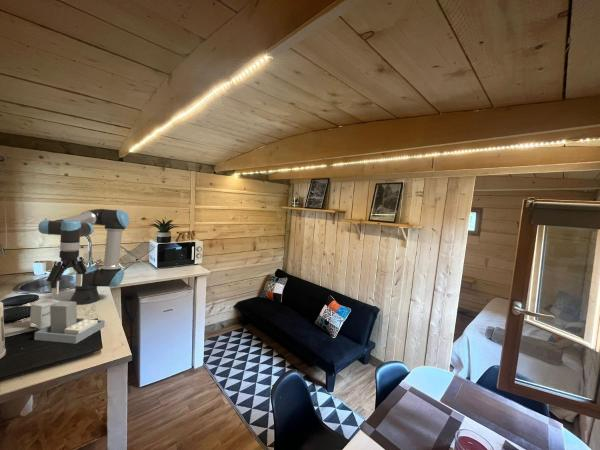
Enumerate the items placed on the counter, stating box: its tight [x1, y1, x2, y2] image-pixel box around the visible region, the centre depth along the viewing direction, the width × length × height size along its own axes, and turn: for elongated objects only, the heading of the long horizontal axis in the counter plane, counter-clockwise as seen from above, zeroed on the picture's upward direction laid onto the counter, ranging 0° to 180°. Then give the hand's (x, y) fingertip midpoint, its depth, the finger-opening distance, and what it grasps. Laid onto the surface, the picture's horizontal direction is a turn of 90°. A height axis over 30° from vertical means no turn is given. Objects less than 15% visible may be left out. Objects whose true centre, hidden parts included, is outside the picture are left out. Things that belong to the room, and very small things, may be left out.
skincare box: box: [50, 300, 78, 334], centre depth 130 cm, size 8×7×16 cm
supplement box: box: [29, 300, 58, 330], centre depth 136 cm, size 7×7×13 cm
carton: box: [64, 318, 99, 335], centre depth 130 cm, size 12×7×6 cm, turn 1°
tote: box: [33, 317, 105, 345], centre depth 130 cm, size 18×20×4 cm
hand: (67, 289), depth 131 cm, fingers open, 13 cm apart
